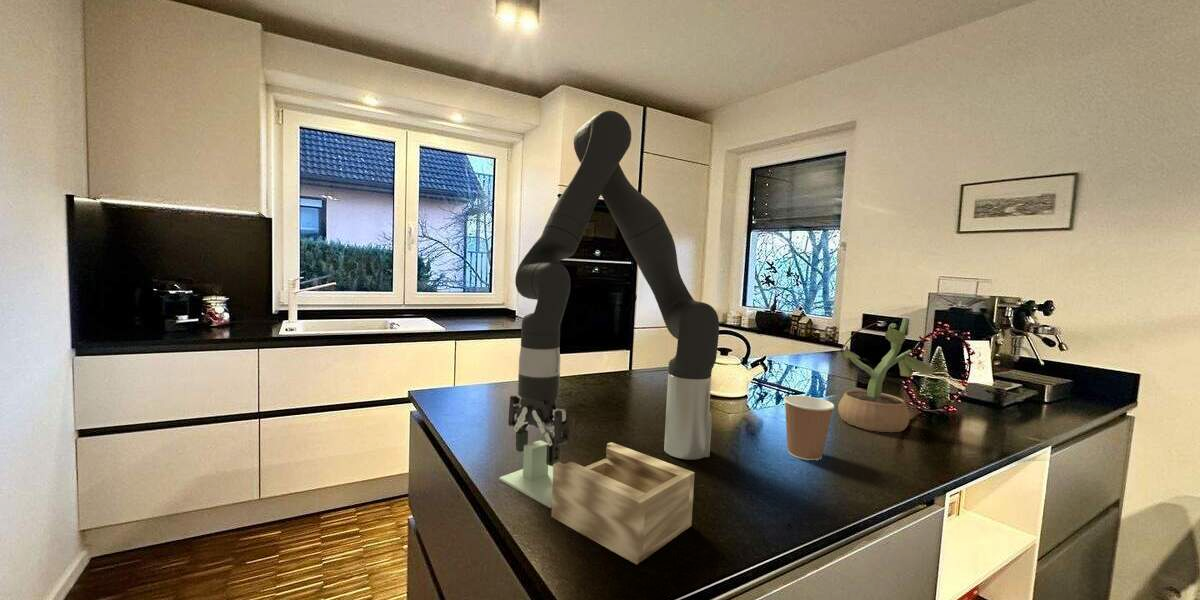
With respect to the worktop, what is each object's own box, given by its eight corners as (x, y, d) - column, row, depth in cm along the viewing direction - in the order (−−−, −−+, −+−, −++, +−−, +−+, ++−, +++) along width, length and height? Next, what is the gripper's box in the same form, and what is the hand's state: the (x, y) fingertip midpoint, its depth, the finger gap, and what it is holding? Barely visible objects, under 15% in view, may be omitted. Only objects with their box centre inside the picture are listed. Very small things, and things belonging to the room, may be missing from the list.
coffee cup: (830, 451, 109) (834, 399, 108) (830, 468, 100) (835, 411, 99) (781, 442, 113) (785, 393, 113) (778, 457, 104) (782, 403, 103)
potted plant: (820, 416, 136) (828, 311, 134) (870, 413, 141) (879, 312, 139) (889, 446, 114) (900, 321, 112) (945, 441, 120) (956, 322, 118)
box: (691, 525, 75) (694, 472, 74) (636, 564, 64) (639, 503, 64) (609, 488, 86) (611, 442, 85) (551, 516, 76) (553, 463, 75)
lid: (593, 490, 86) (595, 452, 86) (550, 511, 78) (552, 469, 78) (542, 466, 95) (543, 432, 95) (499, 482, 88) (500, 445, 87)
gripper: (581, 375, 85) (578, 463, 87) (530, 361, 95) (527, 441, 96) (550, 381, 80) (546, 475, 81) (498, 366, 89) (496, 451, 90)
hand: (536, 457), depth 89 cm, fingers open, 8 cm apart
